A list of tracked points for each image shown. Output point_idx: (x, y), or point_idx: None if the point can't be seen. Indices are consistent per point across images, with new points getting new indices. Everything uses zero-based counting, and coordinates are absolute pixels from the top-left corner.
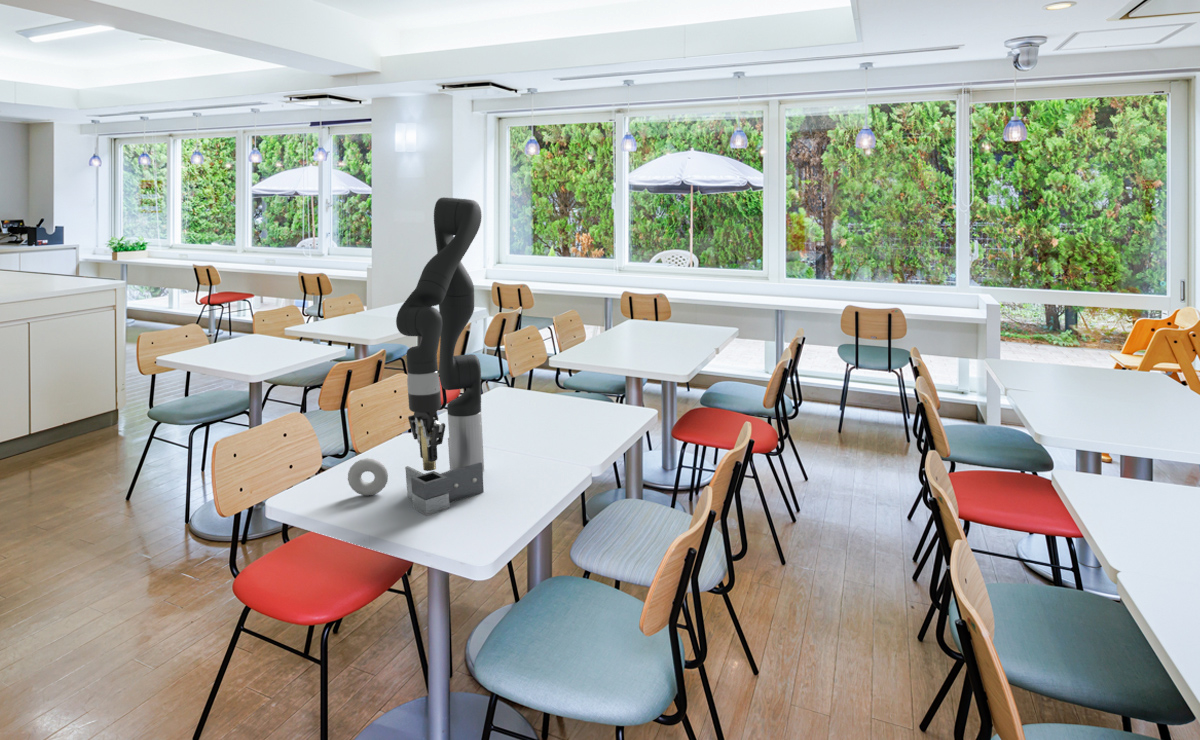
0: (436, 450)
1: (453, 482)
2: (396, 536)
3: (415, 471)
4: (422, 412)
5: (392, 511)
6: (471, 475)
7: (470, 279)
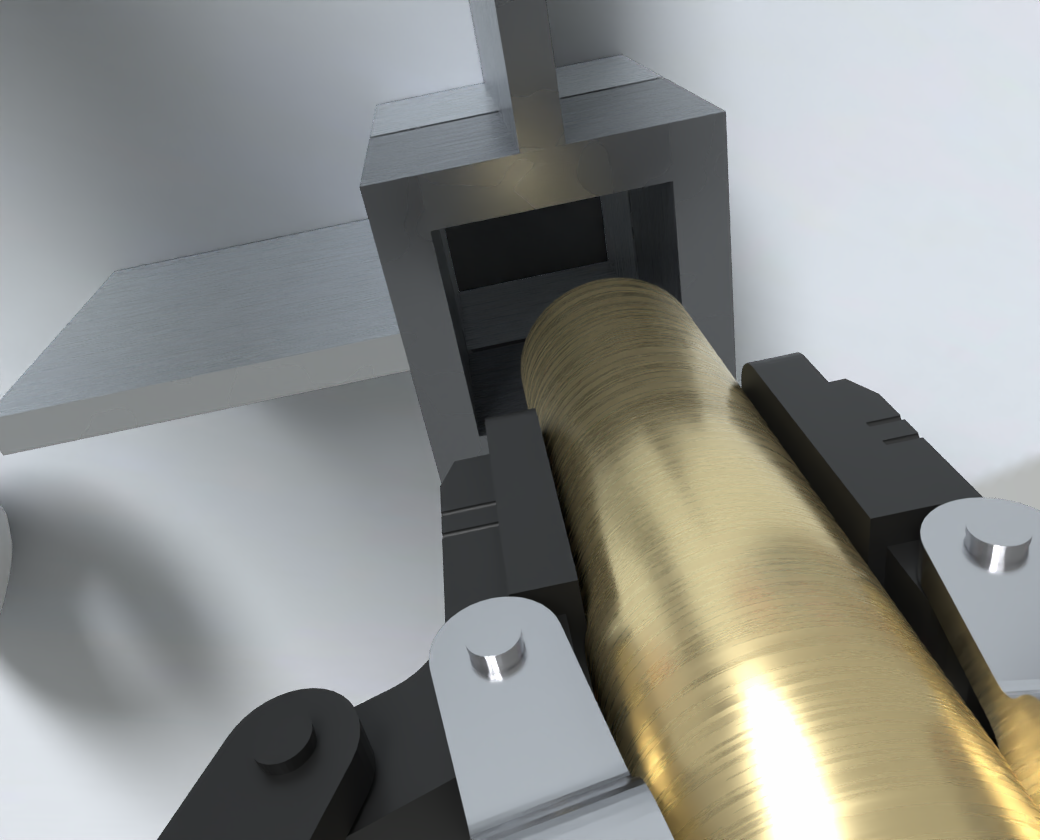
0: (950, 475)
1: None
2: None
3: (252, 396)
4: None
5: (409, 467)
6: None
7: None
